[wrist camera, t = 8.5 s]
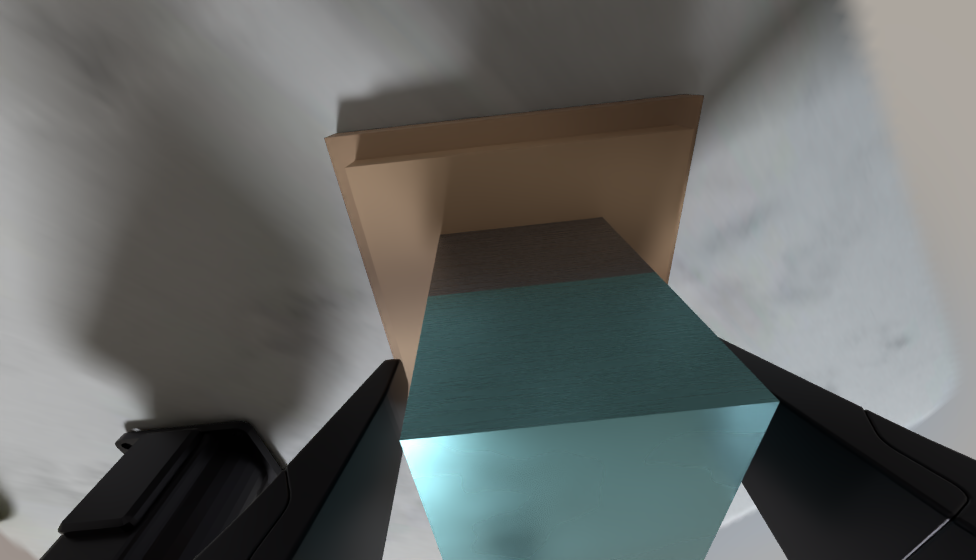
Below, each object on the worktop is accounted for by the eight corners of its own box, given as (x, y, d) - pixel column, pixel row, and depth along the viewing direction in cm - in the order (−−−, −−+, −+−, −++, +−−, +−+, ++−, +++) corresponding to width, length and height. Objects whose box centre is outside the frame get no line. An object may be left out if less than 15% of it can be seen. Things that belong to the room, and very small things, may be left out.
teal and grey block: (602, 217, 11) (779, 401, 4) (593, 342, 13) (699, 569, 7) (440, 234, 11) (399, 440, 5) (461, 356, 13) (455, 593, 7)
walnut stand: (640, 357, 16) (661, 390, 15) (409, 381, 16) (402, 417, 15) (685, 94, 11) (726, 96, 9) (335, 133, 11) (310, 143, 9)
